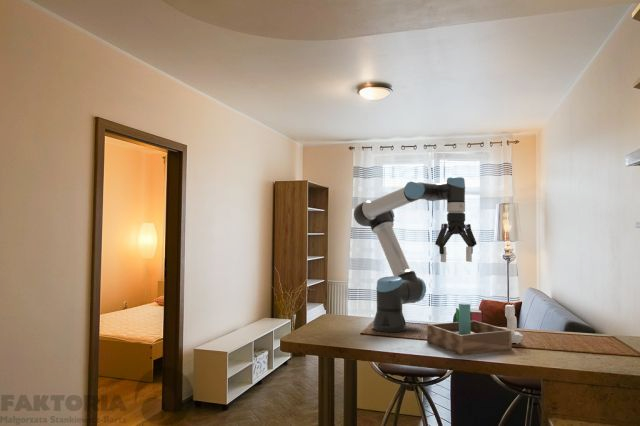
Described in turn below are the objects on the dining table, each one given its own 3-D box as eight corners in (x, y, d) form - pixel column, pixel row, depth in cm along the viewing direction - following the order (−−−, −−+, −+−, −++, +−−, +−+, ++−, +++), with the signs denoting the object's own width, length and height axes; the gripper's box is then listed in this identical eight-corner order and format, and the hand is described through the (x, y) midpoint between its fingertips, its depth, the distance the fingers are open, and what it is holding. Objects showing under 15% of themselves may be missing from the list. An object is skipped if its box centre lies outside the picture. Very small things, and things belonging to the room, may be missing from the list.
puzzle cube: (482, 335, 184) (482, 312, 185) (458, 334, 186) (458, 311, 187) (478, 330, 194) (478, 308, 194) (455, 329, 196) (455, 307, 196)
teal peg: (464, 344, 166) (463, 305, 167) (456, 341, 171) (456, 303, 171) (473, 343, 168) (472, 304, 169) (465, 340, 172) (465, 303, 173)
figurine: (504, 344, 169) (504, 306, 170) (498, 339, 178) (498, 302, 179) (524, 345, 168) (523, 307, 169) (517, 339, 177) (516, 303, 178)
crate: (427, 342, 172) (427, 324, 173) (474, 337, 181) (474, 320, 182) (460, 355, 154) (460, 335, 154) (511, 349, 163) (511, 330, 163)
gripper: (437, 211, 177) (437, 262, 176) (484, 213, 186) (485, 261, 185) (426, 212, 184) (426, 261, 183) (472, 213, 193) (473, 260, 192)
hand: (456, 261), depth 184 cm, fingers open, 13 cm apart
